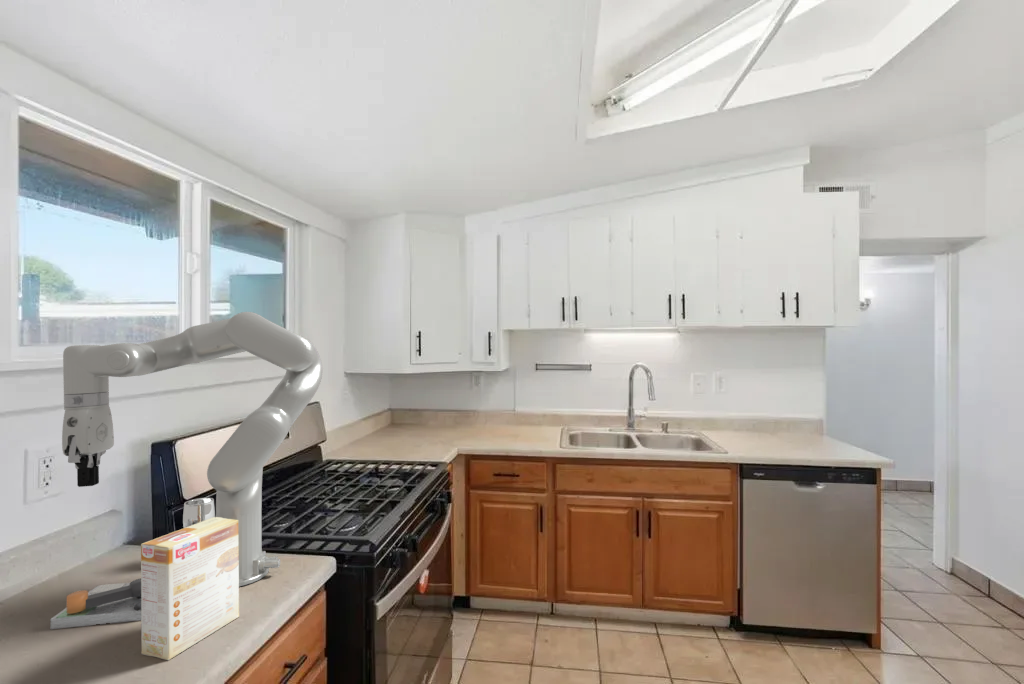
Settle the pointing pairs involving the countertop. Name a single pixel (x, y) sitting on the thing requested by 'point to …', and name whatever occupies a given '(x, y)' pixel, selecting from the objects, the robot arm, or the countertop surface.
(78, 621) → the panel
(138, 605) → the cord bundle
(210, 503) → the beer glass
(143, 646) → the coffeecake box
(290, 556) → the countertop surface
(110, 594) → the breaker lever
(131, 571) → the countertop surface
